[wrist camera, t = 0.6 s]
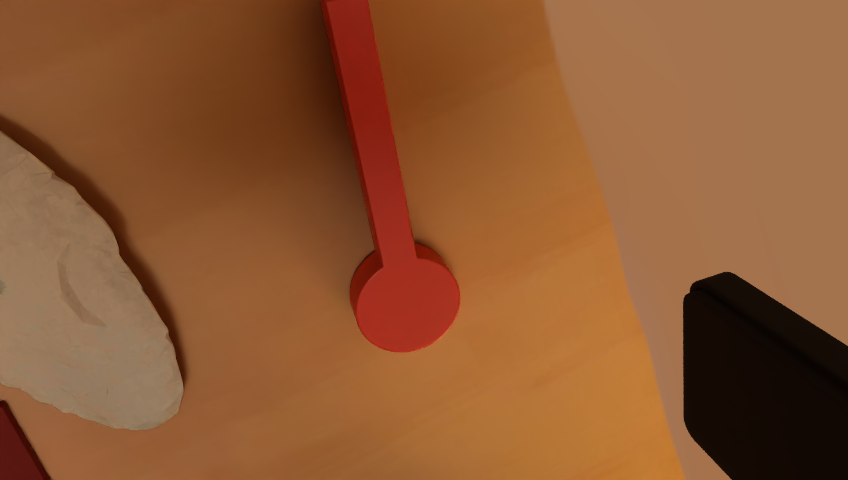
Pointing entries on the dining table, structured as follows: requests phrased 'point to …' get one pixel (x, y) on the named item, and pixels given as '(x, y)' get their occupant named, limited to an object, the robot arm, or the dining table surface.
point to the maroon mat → (16, 451)
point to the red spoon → (384, 201)
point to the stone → (76, 306)
